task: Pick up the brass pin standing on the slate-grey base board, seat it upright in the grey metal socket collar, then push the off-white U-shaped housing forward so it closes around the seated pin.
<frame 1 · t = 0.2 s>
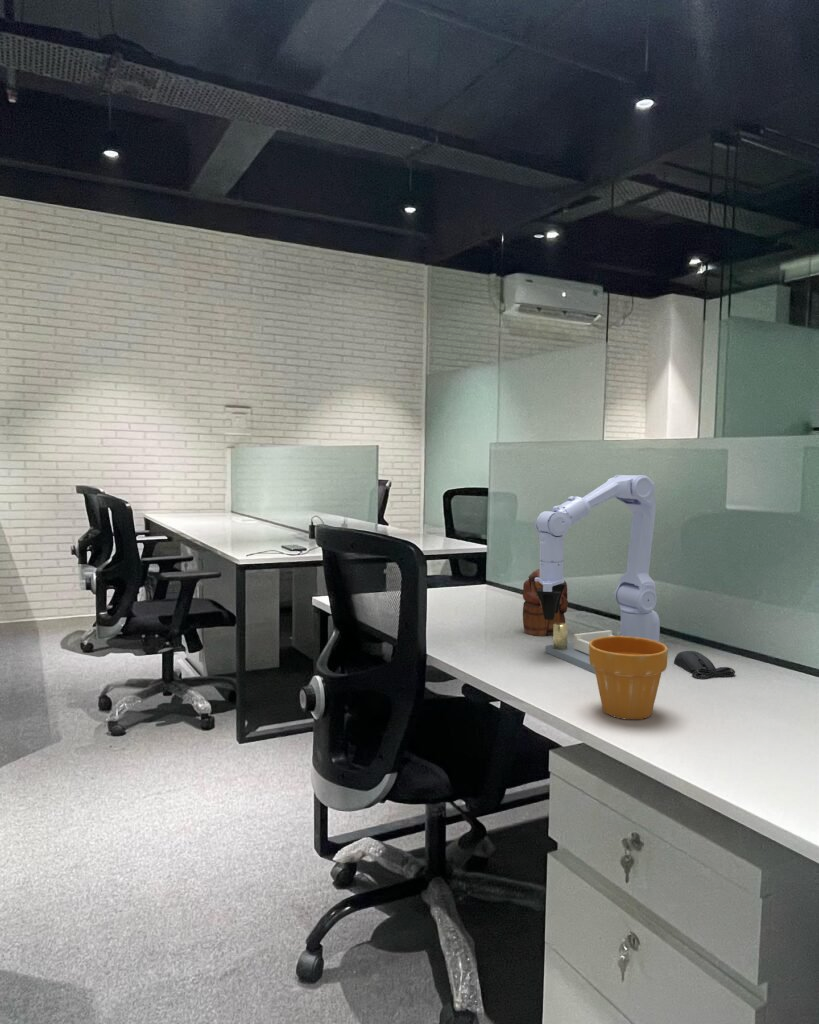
hand: (551, 616, 174), 10 cm above the table, fingers open, 7 cm apart
computer mouse: (698, 671, 164), on the table
pin: (560, 648, 176), point 2 cm above the table, touching base board
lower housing: (604, 643, 172), point 4 cm above the table, slide at 0.0 cm
wooden figurine: (545, 634, 198), on the table
flower pot: (626, 713, 136), on the table
base board: (602, 660, 171), on the table
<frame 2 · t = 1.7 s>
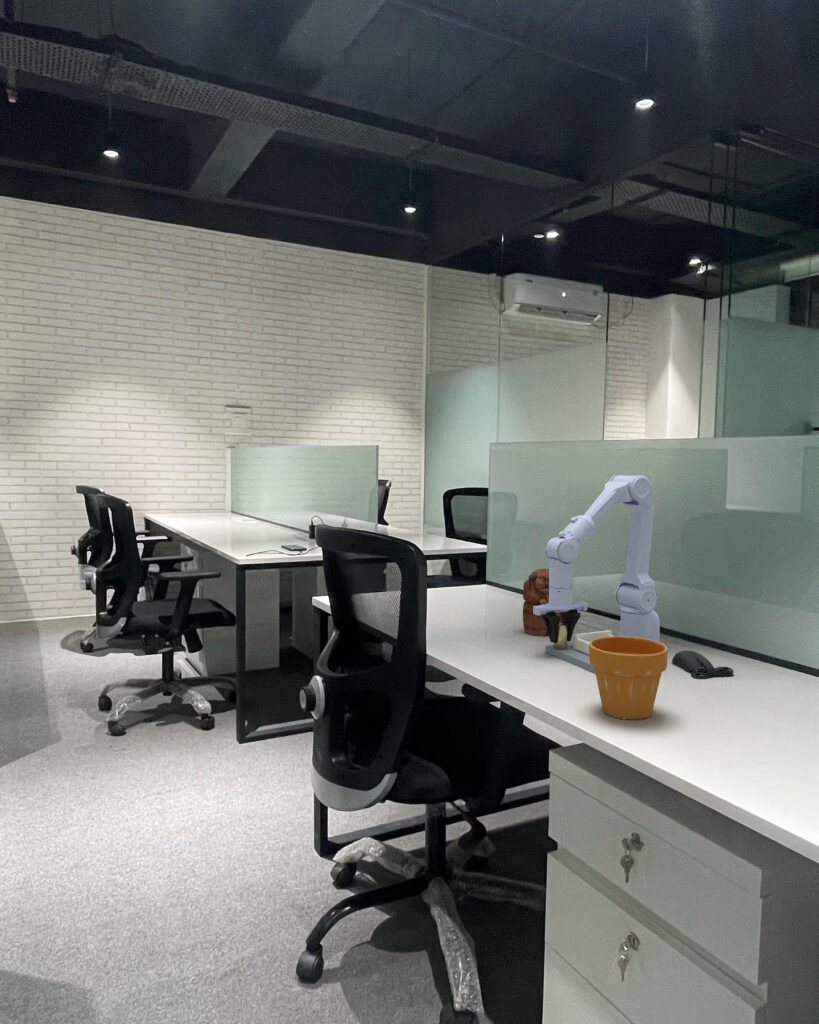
hand: (560, 641, 176), 3 cm above the table, fingers closed on pin, 3 cm apart
pin: (560, 648, 176), point 2 cm above the table, touching base board, gripper
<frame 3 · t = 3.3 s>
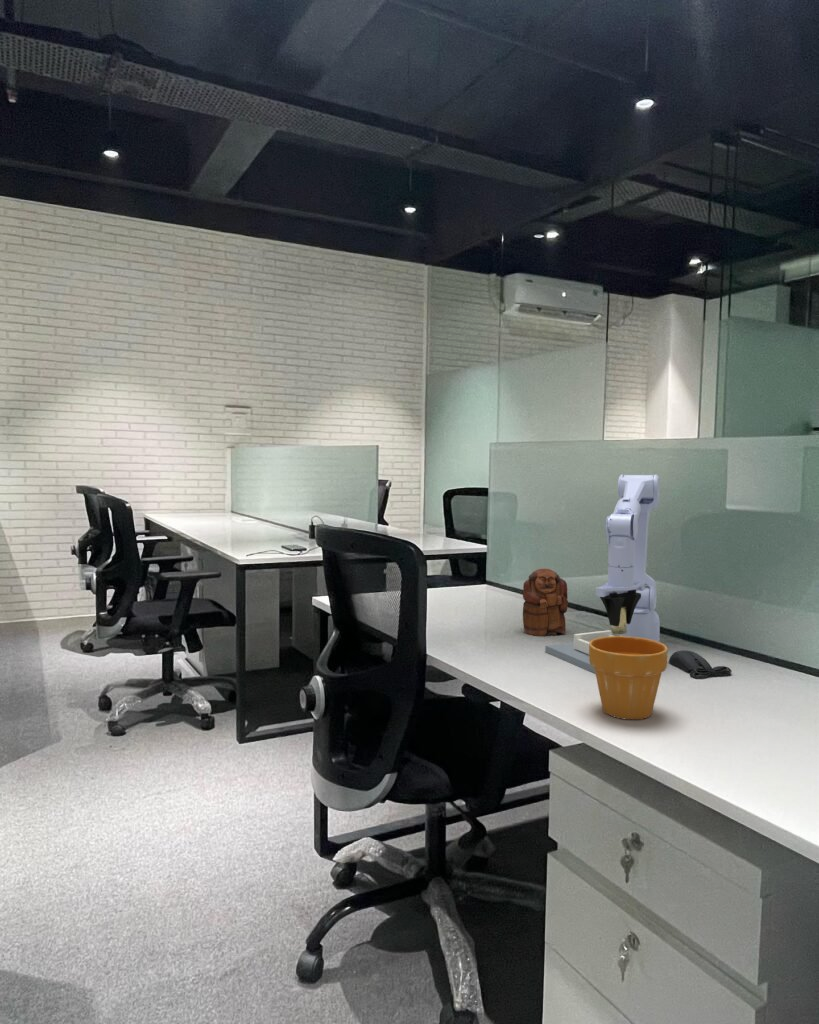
hand: (620, 624, 165), 10 cm above the table, fingers closed on pin, 3 cm apart
pin: (618, 632, 165), point 8 cm above the table, touching gripper
when the fingers open (4 cm above the table, at t = 4.9 s): pin stays where it is, resting on base board.
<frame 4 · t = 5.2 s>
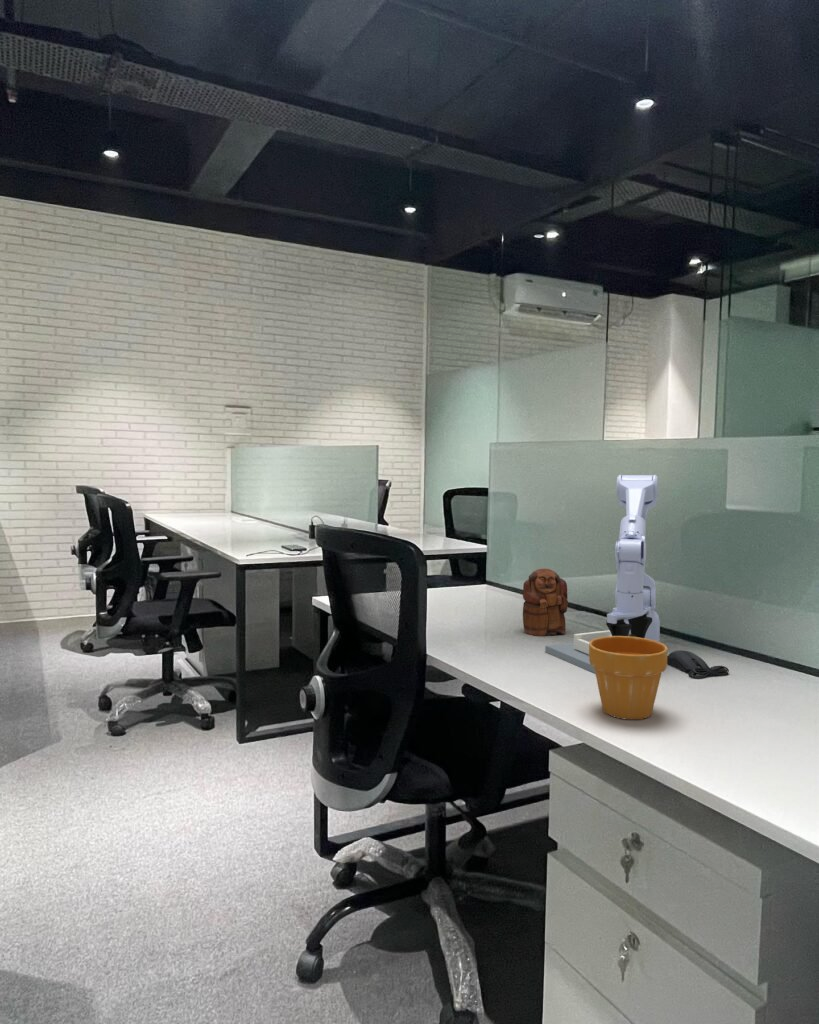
hand: (628, 649, 164), 4 cm above the table, fingers open, 6 cm apart
pin: (627, 661, 164), point 2 cm above the table, touching base board
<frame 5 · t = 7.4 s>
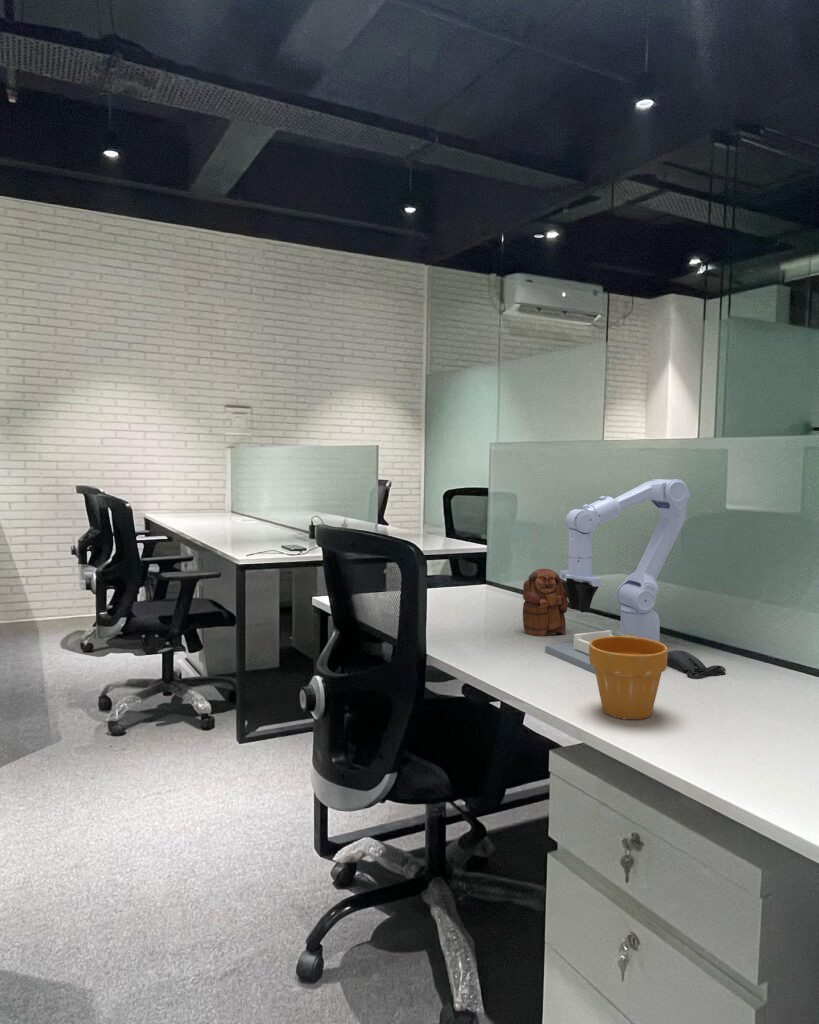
hand: (579, 610, 181), 10 cm above the table, fingers open, 4 cm apart
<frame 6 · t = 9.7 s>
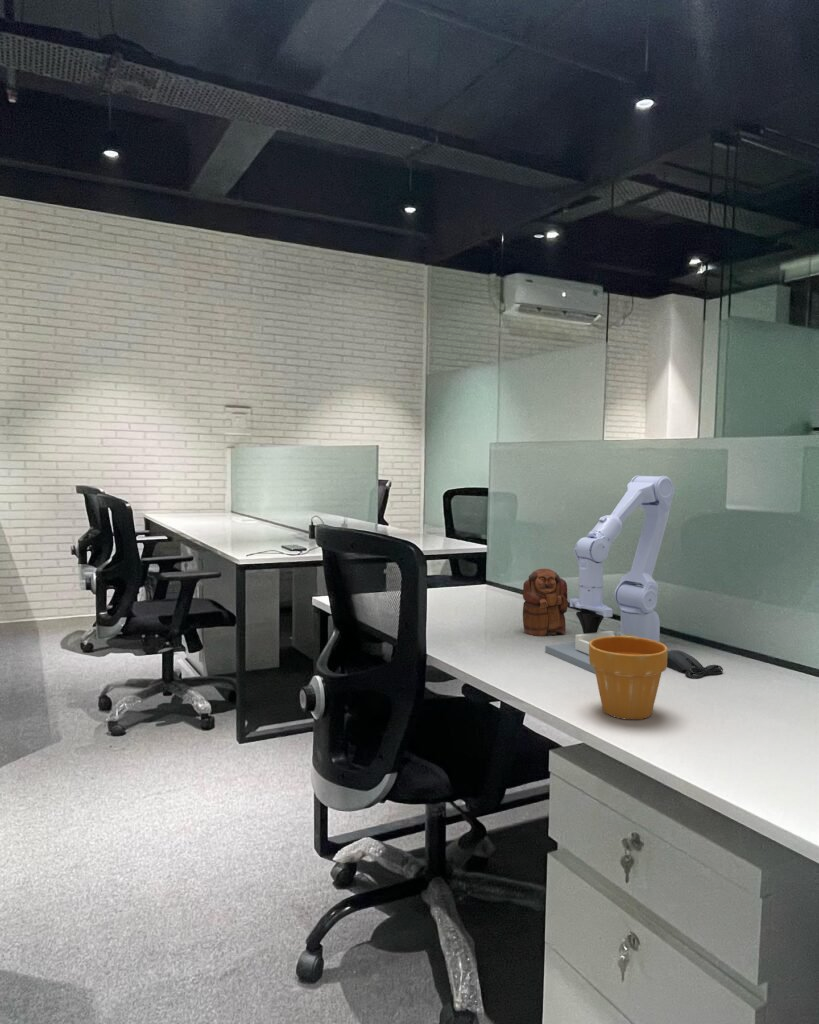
hand: (589, 640, 177), 3 cm above the table, fingers closed
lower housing: (606, 644, 171), point 4 cm above the table, slide at 0.7 cm, touching gripper
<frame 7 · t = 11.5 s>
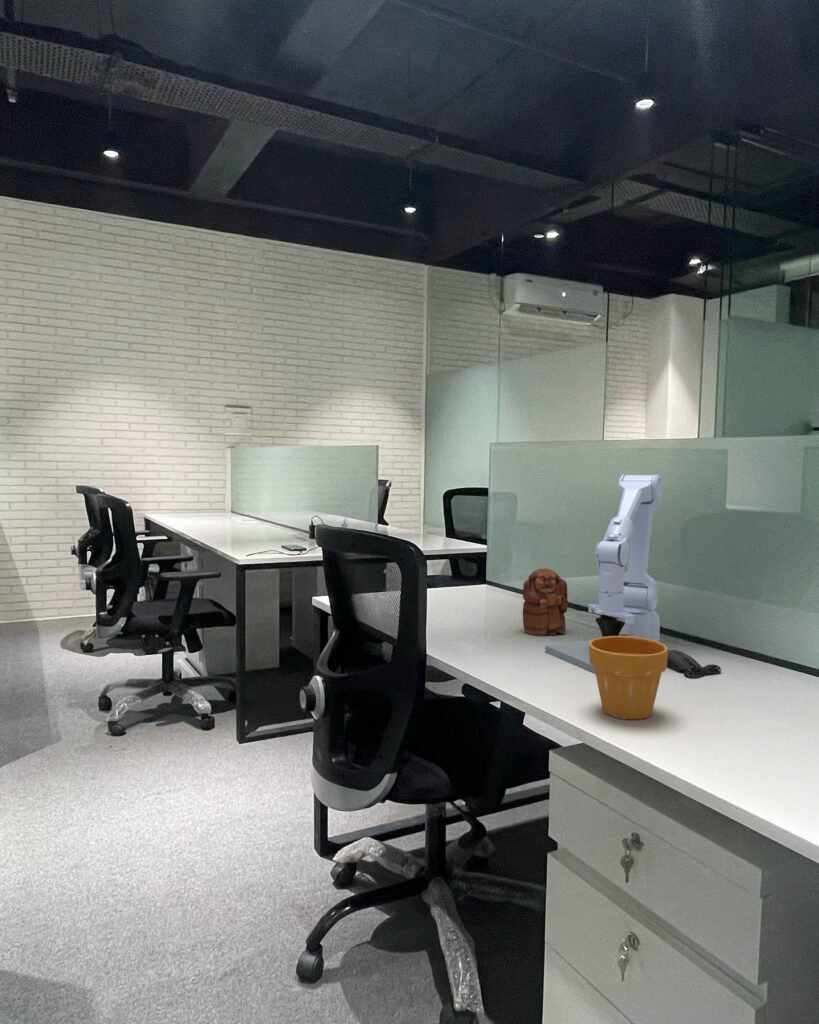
hand: (610, 647, 170), 3 cm above the table, fingers closed
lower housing: (627, 652, 164), point 4 cm above the table, slide at 8.5 cm, touching gripper
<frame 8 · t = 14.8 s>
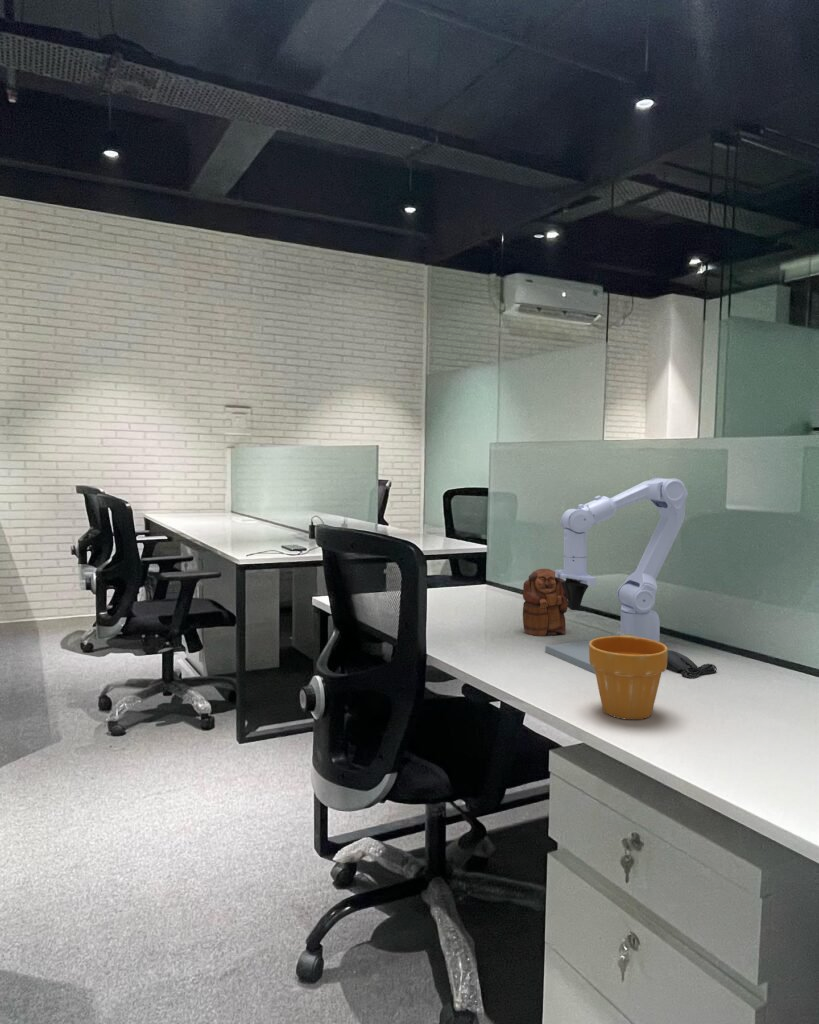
hand: (574, 609, 182), 10 cm above the table, fingers closed
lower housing: (627, 652, 164), point 4 cm above the table, slide at 8.5 cm
at the end: pin 0.3 cm from the target spot, point 1.6 cm above the table; pin tilted 0°; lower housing slide at 8.5 cm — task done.
